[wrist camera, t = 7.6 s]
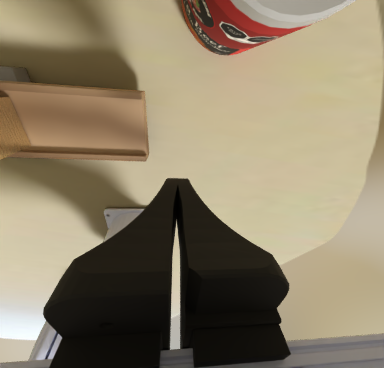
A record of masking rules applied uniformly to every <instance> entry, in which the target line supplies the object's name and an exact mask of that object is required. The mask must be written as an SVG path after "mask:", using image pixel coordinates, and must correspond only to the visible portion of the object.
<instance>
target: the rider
mask: <svg viewBox="0 0 384 368" xmlns="http://www.w3.org/2000/svg"><path fill="white" fill-rule="evenodd" d="M29 146H31V144H30V141H29V139H28V137H27V135H26V133H25V130H24V128H23V126H22V124H21V122H20V119H19V117H18V115H17V113H16V111H15V108H14V106H13V104H12V102H11V100H10V97H4V96H0V160H1V159H3V158H5V157H7V156H10V155H12V154H14V153H16V152H18V151H20V150H23V149H25V148H27V147H29Z"/></svg>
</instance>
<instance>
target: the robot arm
mask: <svg viewBox="0 0 384 368" xmlns="http://www.w3.org/2000/svg"><path fill="white" fill-rule="evenodd" d="M108 214H109V215H108ZM104 215H105V219H106V223H107V226H108V232H107V234H106V237H105V239H104V241H103V243H101V244H100V245H98V246H96V247H95V248H93V249H91V250H90V251H88V252H86V253H85V254H83V255H81V256H79V257H78V258H76V259H74V260H73V262H72V263H71V265H70V266H69V267H68V269H67V270H66V272H65V273H64V275H63V276H62V278H61V279H60V281H59V283H58V285H57V286H56V288H55V290H54V291H53V293H52V295H51V297H50V298H49V300H48V302H47V304H46V305H45V307H44V311H43V315H44V318H45V319H46V322H45V324H44V326H43V328H42V330H41V332H40V334H39V337H38V339H37V341H36V343H35V346H34V348H33V350H32V352H31V355H30V358H29V360H28V361H19V362H6V363H0V368H384V333H382V334H370V335H356V336H343V337H331V338H318V339H305V340H291V341H286V340H285V338H284V335H283V333H282V331H281V328H280V326H279V324H280V323H281V318H280V315H279V313H278V311H277V307H278V306H279V305H280V303H281V302H282V301H283V300H284V298H285V297H286V295H287V293H288V291H289V283H288V281H287V279H286V277H285V275H284V274H283V272H282V270H281V268H280V266H279V265H278V263H277V261H276V260H275V258H274V257H273V255H272V254H270V253H268V252H267V251H265V250H263V249H262V248H260V247H258V246H256V245H255V244H253V243H251V242H250V241H248V240H247V239H245V238H244V237H242V236H241V235H239V234H238V233H236V232H235V231H234V230H232V229H231V228H230V227H228V226H227V225H226V224H225V223H223V222H222V221H221V220H220V219H219V218H218V217H217V216H216V215H215V214H214V213H213V212H212V211H211V210H210V209H209V208H208V207H207V206H206V205H205V204H204V202H203V201H202V200H201V198H200V197H199V196H198V194H197V193H196V191H195V190H194V188H193V187H192V185H191V183H190V181H189V180H188V179H178V178H167V179H166V181H165V183H164V184H163V186H162V188H161V189H160V191H159V192H158V194H157V195H156V196H155V198H154V199H153V200H152V201H151V203H150V204H149V205H148V206H147V207H146V208H145V209H108V208H107V209H105V210H104ZM176 220H177V227H178V237H179V247H180V335H181V336H180V349H175V350H170V326H171V288H172V255H173V245H174V237H175V228H176Z"/></svg>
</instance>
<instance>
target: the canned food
mask: <svg viewBox="0 0 384 368" xmlns="http://www.w3.org/2000/svg"><path fill="white" fill-rule="evenodd" d="M354 1H356V0H182V8H183V12H184V16H185V20H186V22H187V24H188V27H189V29H190V31H191V33H192V34H193V36H194V37H195V39H196V40H197V41H198V42H199V43H200V44H201V45H202V46H203V47H204V48H206V49H208V50H209V51H211V52H213V53H216V54H219V55H233V54H238V53H241V52H243V51H246V50H248V49H251V48H254V47H256V46H259V45H261V44H264V43H266V42H269V41H272V40H274V39H277V38H279V37H282V36H284V35H287V34H290V33H292V32H295V31H297V30H300V29H302V28H305V27H307V26H310V25H311V24H313V23H316V22H318V21H321V20H323V19H326V18H328V17H330V16H331V15H333V14H334V13H336V12H338V11H340V10H341V9H343V8H345V7H346V6H348V5H349V4H351V3H353V2H354Z"/></svg>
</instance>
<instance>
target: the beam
mask: <svg viewBox="0 0 384 368" xmlns="http://www.w3.org/2000/svg"><path fill="white" fill-rule="evenodd" d="M0 96H4V97H10V100H11V102H12V104H13V106H14V108H15V111H16V113H17V115H18V117H19V119H20V122H21V124H22V126H23V128H24V130H25V133H26V135H27V137H28V139H29V141H30V144H31V146H29V147H27V148H25V149H23V150H20V151H18V152H16V153H14V154H12V155H10V156H7V157H19V158H56V159H87V160H118V161H146V160H147V158H148V155H149V145H148V131H147V117H146V102H145V91H137V90H124V89H110V88H97V87H83V86H70V85H56V84H42V83H31V81H30V79H29V76H28V73H27V71H26V68H17V67H5V66H0Z"/></svg>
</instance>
